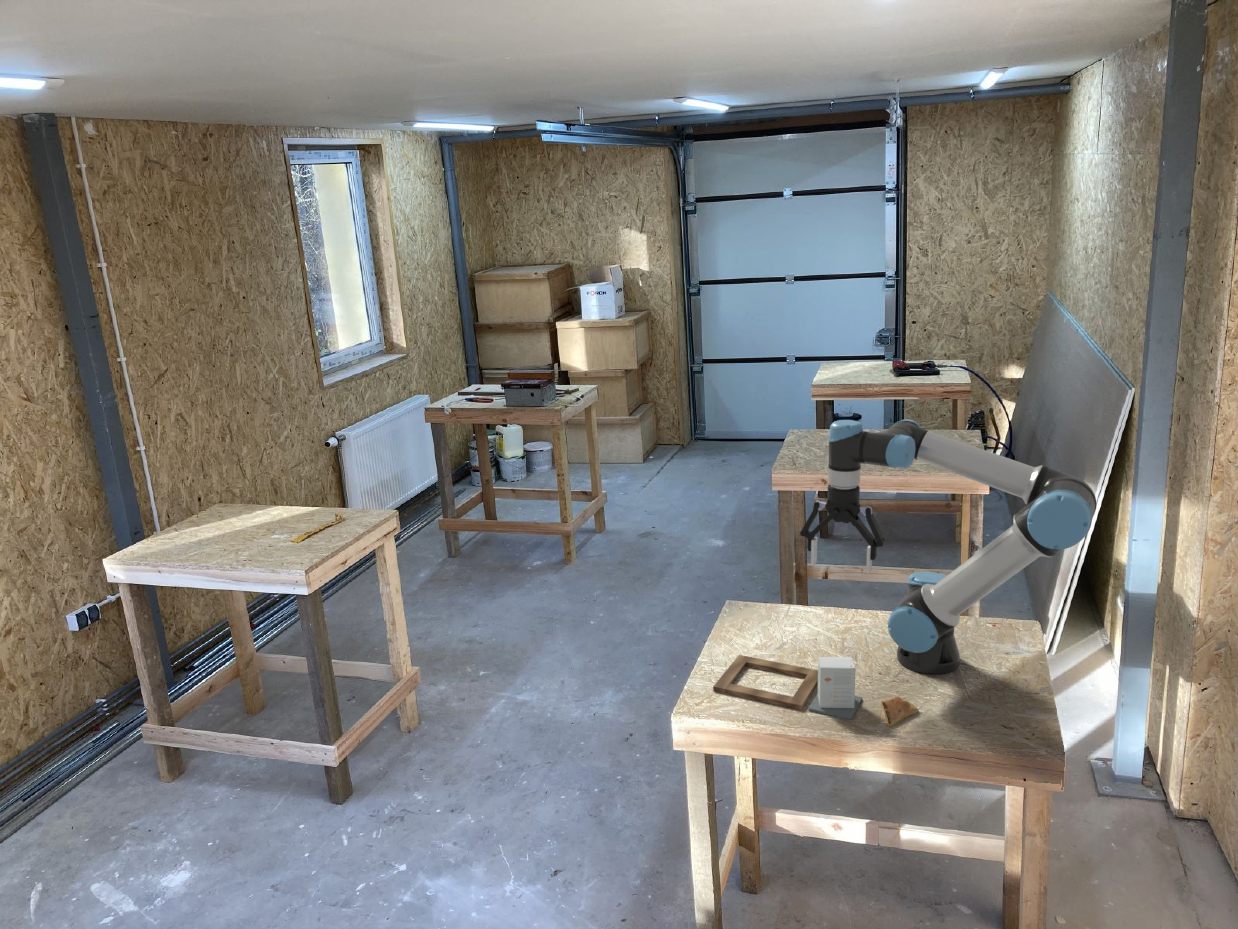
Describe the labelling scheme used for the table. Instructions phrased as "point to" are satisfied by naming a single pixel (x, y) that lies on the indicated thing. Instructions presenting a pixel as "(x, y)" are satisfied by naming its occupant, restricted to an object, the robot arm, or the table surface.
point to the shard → (897, 710)
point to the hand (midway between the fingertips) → (840, 567)
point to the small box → (836, 682)
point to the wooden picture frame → (794, 702)
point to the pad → (836, 709)
